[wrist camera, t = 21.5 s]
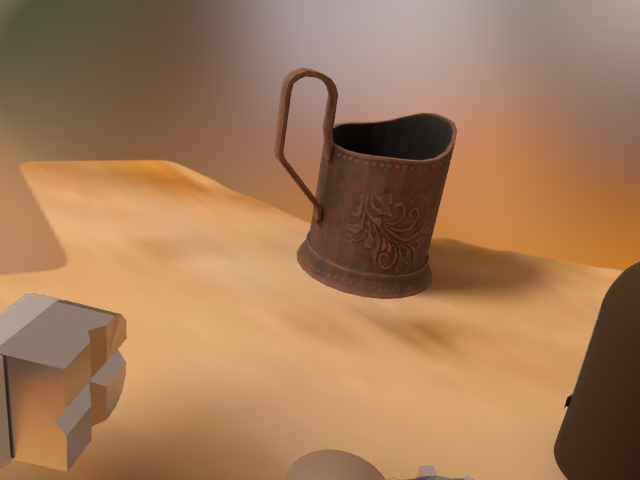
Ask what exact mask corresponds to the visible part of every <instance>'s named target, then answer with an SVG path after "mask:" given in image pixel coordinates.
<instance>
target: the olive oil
mask: <svg viewBox="0 0 640 480" xmlns="http://www.w3.org/2000/svg"><path fill="white" fill-rule="evenodd" d="M567 406H568V409H567V412H566V414H565V417H564V420H563V423H562V425H561V428H560V431H559V434H558V436H557V439H556V442H555V446H554V455H555V459H556V462H557V464H558V466H559V468H560V469H561V471H562V472H563V474H564V475H565V476H566V478H567V479H568V480H640V262H638V263H636V264H634V265H632V266H631V267H629V268H628V269H626V270H625V271H624V272H623V273H622V274H621V275H620V276H619V277H618V278H617V279H616V280H615V282H614V283H613V284H612V285H611V287H610V288H609V290H608V291H607V293H606V295H605V297H604V299H603V302H602V305H601V308H600V311H599V314H598V317H597V320H596V324H595V327H594V330H593V333H592V336H591V339H590V342H589V345H588V349H587V352H586V355H585V358H584V361H583V364H582V367H581V370H580V373H579V376H578V379H577V382H576V385H575V388H574V391H573V394H572V395H570V396H569V397H567V400H566V404H565V407H567ZM565 407H564V408H565Z"/></svg>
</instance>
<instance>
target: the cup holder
mask: <svg viewBox="0 0 640 480" xmlns="http://www.w3.org/2000/svg"><path fill="white" fill-rule="evenodd" d="M305 76H308V77H316V78H318V79H321V80H322V81H323V82H324V83H325V85H326V86H327V91H328V99H327V105H326V111H325V116H324V123H323V133H324V145H323V151H322V158H321V164H320V171H319V178H318V184H317V190H316V196H315V197H314V196H313V195H312V193H311V192H310V191H309V189H308V188H307V187H306V185H305V184H304V183H303V181H302V180H301V179H300V177H299V176H298V175H297V174H296V172H295V171H294V170H293V168H292V167H291V166H290V164H289V163H288V162H287V160H286V159H285V157H284V153H283V150H284V142H285V134H286V127H287V120H288V113H289V105H290V97H291V91H292V87H293V84H294V83H295V82H296V81H297V80H299V79H300V78H303V77H305ZM337 98H338V93H337V89H336V85H335V84H334V82H333V81H332V80H331V79H330V78H328V77H327V76H326V75H324V74H322V73H320V72H317V71H315V70H312V69H305V68H300V69H298V70H295V71H293V72H291V73H290V74H288V75H287V76H286V78H284V81H283V85H282V89H281V97H280V106H279V114H278V123H277V132H276V140H275V150H274V151H275V155H276V158H277V159H278V160H279V161H280V163H281V164H282V165H283V167H284V168H285V169H286V170H287V172H288V173H289V174H290V175H291V177H292V178H293V179H294V181H295V182H296V183H297V185H298V186H299V187H300V188H301V190H302V191H303V192H304V194H305V195H306V196H307V197H308V199H309V200H310V201H311V202H312V203H313V209H314V210H313V216H312V222H311V228H310V231H309V233H308V234H307V238H306V240H305V241H304V242H303V243H302V244H301V246H300V247H299V249H298V250H297V261H298V262H299V264H300V266H301V268H302V269H303V270H304V271H305V272H307V273H308V274H309V275H310V276H311V277H312V278H314V279H316V280H317V281H319V282H321V283H323V284H324V285H326V286H329V287H331V288H334V289H337V290H339V291H342V292H345V293H349V294H354V295H358V296H362V297H370V298H379V299H392V298H403V297H408V296H413V295H416V294H418V293H420V292H422V291H424V290H426V288H427V287H428V286H429V285H430V283H431V279H432V274H431V271H430V268H429V265H428V258H429V255H428V250H429V246H430V242H431V238H432V233H433V229H434V225H435V221H436V217H437V213H438V209H439V205H440V201H441V197H442V193H443V189H444V185H445V181H446V177H447V173H448V169H449V165H450V160H451V157H452V153H453V149H454V145H455V140H456V134H457V129H456V126H455V124H454V122H452V121H451V120H449V119H448V118H446V117H443V116H440V115H438V114H432V113H420V114H414V115H409V116H405V117H400V118H396V119H392V120H386V121H376V122H354V123H353V122H347V123H340V124H335V125H333V124H334V119H335V112H336V104H337Z"/></svg>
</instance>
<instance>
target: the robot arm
mask: <svg viewBox="0 0 640 480" xmlns="http://www.w3.org/2000/svg"><path fill="white" fill-rule="evenodd" d="M125 340H126V320H125V318H124V317H123V316H122V314H118V313H114V312H110V311H106V310H102V309H98V308H94V307H90V306H86V305H82V304H78V303H74V302H70V301H66V300H61V299H58V298H54V297H49V296H45V295H40V294H36V293H33V294H26V295H24V296H23V297H22V298H20V299H19V300H18V301H16V302H15V303H14V304H12V305H11V306H10V307H9V308H7V309H6V310H5V311H3V312H2V313H1V314H0V468H2V467H4V466H6V465H8V464H9V463H11V459H12V460H17V461H21V462H26V463H30V464H34V465H39V466H43V467H48V468H52V469H57V470H61V471H65V472H67V471H68V470H69V469H70V468H71V466H72V465H73V464H74V462H75V461H76V460H77V458H78V457H79V456H80V454H81V453H82V452H83V450H84V449H85V448H86V446H87V445H88V444H89V442H90V441H91V427H92V426H94V425H96V424H98V423H101V422H103V421H105V420H107V418H108V417H109V415H110V414H111V412H112V411H113V410H114V408H115V407H116V404H117V402H118V400H119V397H120V395H121V392H122V390H123V385H124V380H125V375H126V362H125V360H124V358H123V357H122V355H121V354H120V352H119V351H118V348H119V347H120V346H121V344H122V343H123V342H124V341H125Z"/></svg>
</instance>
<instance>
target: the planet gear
mask: <svg viewBox="0 0 640 480" xmlns="http://www.w3.org/2000/svg"><path fill="white" fill-rule="evenodd" d="M286 480H385V479H384V477H383V476H382V475H381V473H380V472H379V471H378V470H377V469H376V468H375V467H374V466H373V465H371V464H370V463H369V462H367V461H366V460H364V459H362V458H360V457H358V456H356V455H354V454H351V453H348V452H343V451H338V450H321V451H316V452H312V453H309V454H307V455H305V456H303V457H301V458H300V459H298V460H297V461H296V462H295V463H294V464H293V465H292V466H291V468H290V469H289V471H288V473H287V476H286Z"/></svg>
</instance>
